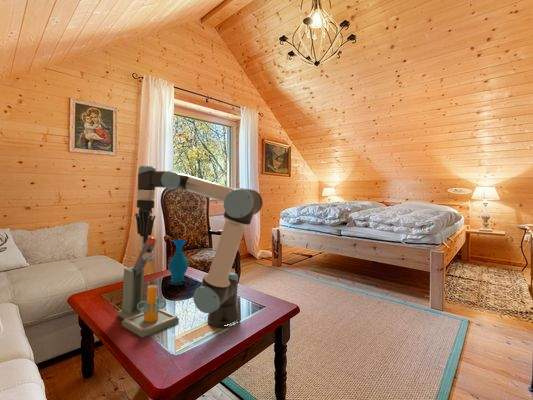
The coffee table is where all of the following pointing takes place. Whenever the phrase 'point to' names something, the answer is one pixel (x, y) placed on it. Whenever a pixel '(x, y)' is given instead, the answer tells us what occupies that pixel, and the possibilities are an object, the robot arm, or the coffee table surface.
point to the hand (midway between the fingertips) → (143, 249)
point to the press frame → (136, 317)
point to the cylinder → (151, 305)
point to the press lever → (144, 256)
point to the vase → (178, 263)
